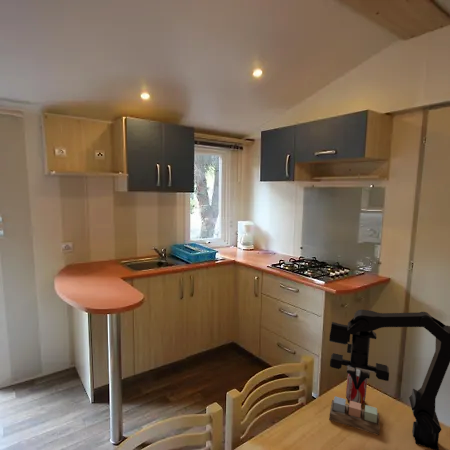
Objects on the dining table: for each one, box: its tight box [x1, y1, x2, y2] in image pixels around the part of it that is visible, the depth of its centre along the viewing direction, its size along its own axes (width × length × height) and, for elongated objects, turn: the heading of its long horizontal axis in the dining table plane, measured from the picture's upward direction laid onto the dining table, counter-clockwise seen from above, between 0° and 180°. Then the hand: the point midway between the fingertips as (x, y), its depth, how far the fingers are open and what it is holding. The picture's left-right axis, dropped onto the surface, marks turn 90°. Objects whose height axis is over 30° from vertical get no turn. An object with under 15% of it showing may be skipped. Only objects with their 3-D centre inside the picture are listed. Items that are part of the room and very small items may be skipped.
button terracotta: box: [348, 401, 362, 418], centre depth 113 cm, size 4×4×3 cm
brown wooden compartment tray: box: [328, 399, 381, 436], centre depth 113 cm, size 16×8×2 cm, turn 66°
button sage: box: [364, 404, 378, 423], centre depth 111 cm, size 4×4×3 cm
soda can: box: [345, 368, 368, 405], centre depth 123 cm, size 7×7×12 cm
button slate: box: [333, 395, 347, 413], centre depth 115 cm, size 4×4×3 cm
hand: (356, 388), depth 112 cm, fingers closed
